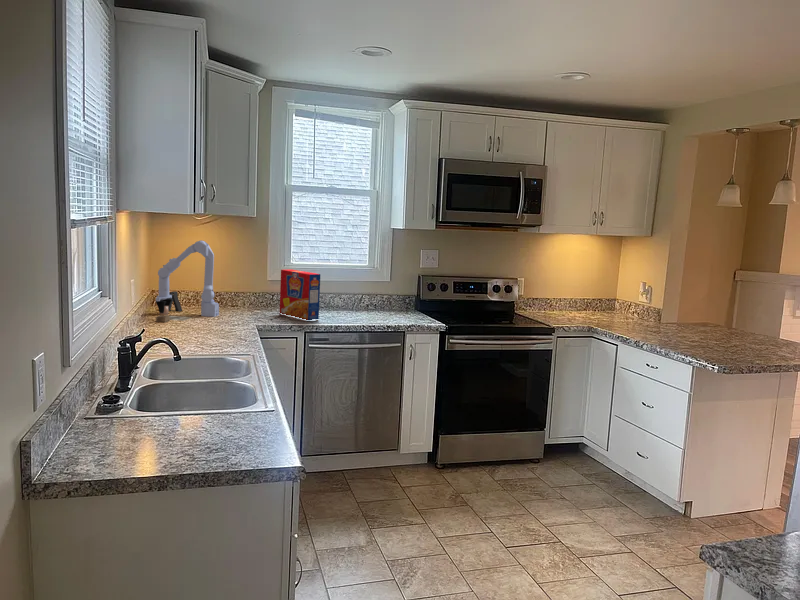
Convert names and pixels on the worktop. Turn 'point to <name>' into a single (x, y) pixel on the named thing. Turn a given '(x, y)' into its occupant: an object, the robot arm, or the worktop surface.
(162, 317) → the walnut block
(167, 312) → the terracotta cylinder
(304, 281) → the pasta box
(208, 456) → the worktop surface
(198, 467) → the worktop surface
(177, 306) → the phone stand
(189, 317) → the letter board
